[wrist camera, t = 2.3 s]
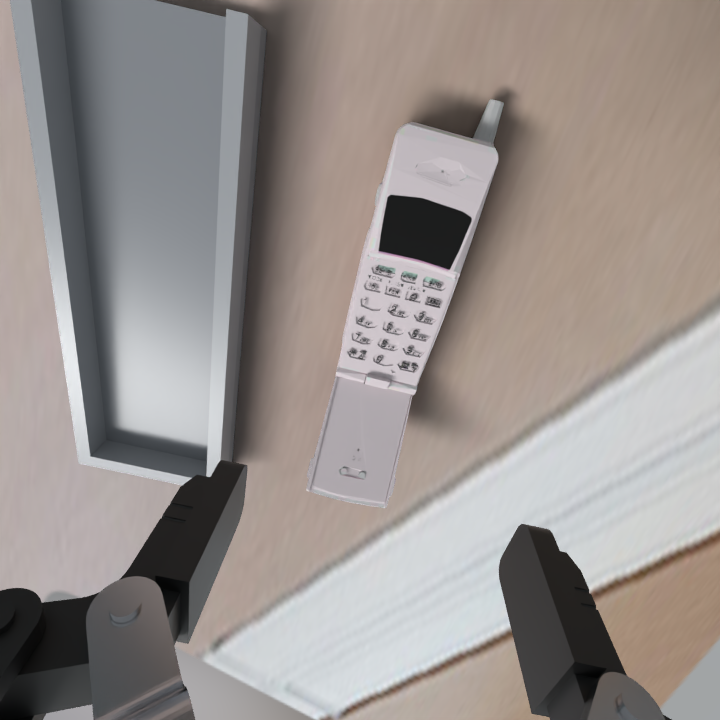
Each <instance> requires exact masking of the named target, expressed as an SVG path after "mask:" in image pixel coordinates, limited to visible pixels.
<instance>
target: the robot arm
mask: <svg viewBox="0 0 720 720" xmlns="http://www.w3.org/2000/svg"><path fill="white" fill-rule="evenodd" d="M246 478H247V465H244V464H239V463H234V462H230V461H225V460H220V461H219V463H218V464H217V466H216V468H215V470H214V472H213V473H212V475H211V477H206V476H202V475H196V476H194V477H193V478H192V479H190V480H189V481H188V482H186V483H185V484H184V485H182V486H181V487H180V489H179V490H178V492H177V493H176V495H175V497H174V498H173V500H172V501H171V504H170V506H168V508H167V509H166V511H165V512H164V514H163V516H162V519H160V520H159V522H158V523H157V525H156V527H155V528H154V530H153V531H152V533H151V534H150V536H149V538H148V539H147V541H146V542H145V544H144V546H143V547H142V549H141V550H140V552H139V553H138V555H137V557H136V558H135V560H134V561H133V563H132V564H131V566H130V568H129V569H128V570H127V572H126V573H125V574H124V575H123V576H122V578H121V579H119V580H118V581H115V582H114V583H112V584H110V585H108V586H107V587H106V588H104V589H103V590H102V591H101V592H99V593H97V594H94V595H91V596H88V597H83V598H77V599H69V600H61V601H53V602H44V603H41V600H40V598H39V596H38V595H37V594H36V593H34V592H33V591H31V590H28V589H24V588H12V589H6V590H2V591H0V720H43V718H44V716H45V715H46V713H50V712H55V711H60V710H65V709H70V708H75V707H80V706H85V705H91V704H92V706H93V717H94V720H195V717H194V712H193V709H192V704H191V700H190V697H189V694H188V691H187V688H186V687H185V686H184V684H183V681H182V678H181V674H180V669H179V665H178V661H177V656H176V652H175V647H174V645H175V643H176V641H177V642H183V643H189V641H190V638H191V636H192V634H193V631H194V629H195V626H196V624H197V622H198V619H199V617H200V614H201V612H202V610H203V607H204V605H205V603H206V600H207V598H208V595H209V593H210V591H211V588H212V586H213V583H214V581H215V579H216V576H217V574H218V571H219V569H220V567H221V564H222V562H223V559H224V557H225V555H226V552H227V550H228V547H229V545H230V543H231V540H232V538H233V535H234V533H235V531H236V528H237V526H238V523H239V520H240V517H241V514H242V510H243V505H244V498H245V488H246ZM499 579H500V583H501V587H502V592H503V596H504V600H505V604H506V608H507V612H508V617H509V621H510V625H511V629H512V633H513V637H514V642H515V646H516V650H517V654H518V658H519V662H520V667H521V671H522V675H523V679H524V683H525V687H526V691H527V696H528V700H529V704H530V708H531V712H532V714H536V715H541V716H547V717H550V720H671V719H669V718H668V717H666V716H664V715H663V714H662V712H661V710H660V708H659V706H658V705H657V703H656V702H655V701H654V699H653V698H652V697H651V696H650V694H649V693H648V692H647V691H646V690H645V689H644V688H643V687H642V686H641V685H639V684H638V683H637V682H636V681H634V680H633V679H631V678H629V677H628V676H627V675H626V673H625V671H624V669H623V666H622V664H621V662H620V659H619V657H618V655H617V653H616V650H615V648H614V646H613V643H612V641H611V639H610V637H609V634H608V632H607V630H606V627H605V625H604V623H603V621H602V618H601V616H600V614H599V611H598V610H596V605H595V602H594V600H593V598H592V595H591V594H589V588H588V586H587V584H586V582H585V579H584V577H583V575H582V572H581V570H580V569H579V568H578V567H577V565H576V564H575V563H574V562H573V560H572V559H571V558H570V557H569V555H568V554H567V553H565V552H561V551H559V548H558V546H557V543H556V541H555V538H554V536H553V534H552V532H551V531H550V530H548V529H544V528H539V527H535V526H530V525H525V524H521V525H520V526H519V527H518V528H517V530H516V532H515V534H514V535H513V537H512V539H511V541H510V543H509V544H508V546H507V548H506V550H505V552H504V553H503V555H502V557H501V560H500V565H499Z"/></svg>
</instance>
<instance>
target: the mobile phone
mask: <svg viewBox="0 0 720 720" xmlns="http://www.w3.org/2000/svg"><path fill="white" fill-rule="evenodd" d="M503 105H504V103H503V102H500V101H497V100H492V99H491V100H489V102H488V104H487V107H486V109H485V111H484V114H483V116H482V118H481V120H480V123H479V125H478V127H477V130H476V132H475V134H474V137H473V138H469V137H466V136H462V135H458V134H455V133H451V132H448V131H444V130H441V129H437V128H434V127H430V126H426V125H423V124H419V123H416V122H409V123H406V124H404V125H402V126H401V127H400V128H399V129H398V130H397V133H396V135H395V138H394V142H393V146H392V150H391V153H390V157H389V161H388V164H387V168H386V172H385V175H384V178H383V181H382V183H381V184H380V185H379V187H378V190H377V194H376V199H375V205H376V208H375V212H374V216H373V219H372V223H371V227H370V228H369V231H368V233H367V237H366V240H365V244H364V247H363V251H362V256H361V260H360V264H359V268H358V273H357V277H356V281H355V285H354V290H353V294H352V298H351V302H350V307H349V311H348V315H347V320H346V324H345V329H344V333H343V338H342V348H341V353H340V357H339V362H338V367H337V371H336V377H335V381H334V385H333V388H332V392H331V396H330V399H329V403H328V407H327V410H326V414H325V418H324V421H323V425H322V429H321V433H320V436H319V440H318V444H317V448H316V451H315V455H314V459H313V458H312V459H311V461H310V465H309V469H308V473H307V477H308V478H309V480H308V484H307V488H306V490H307V491H310V492H313V493H316V494H319V495H323V496H326V497H330V498H333V499H337V500H341V501H346V502H351V503H355V504H362V505H368V506H374V507H381V508H386V507H387V504H388V500H389V496H391V495H392V492H393V488H394V484H395V480H396V479H395V473H396V468H397V464H398V459H399V455H400V450H401V445H402V441H403V436H404V432H405V427H406V423H407V418H408V414H409V409H410V405H411V400H412V396H411V394H412V395H415V393H416V391H417V384H418V382H419V379H420V377H421V374H422V372H423V369H424V367H425V364H426V362H427V360H428V357H429V355H430V352H431V350H432V347H433V345H434V342H435V340H436V337H437V335H438V332H439V330H440V327H441V325H442V322H443V320H444V317H445V314H446V311H447V309H448V306H449V303H450V301H451V298H452V295H453V292H454V290H455V287H456V284H457V281H458V278H459V276H460V273H461V270H462V267H463V264H464V262H465V259H466V256H467V253H468V250H469V247H470V244H471V242H472V239H473V236H474V233H475V230H476V227H477V224H478V221H479V218H480V215H481V212H482V209H483V206H484V203H485V199H486V196H487V194H488V191H489V187H490V184H491V181H492V178H493V175H494V172H495V169H496V166H497V163H498V153H497V151H496V148H495V147H494V144H493V142H494V139H495V136H496V132H497V128H498V124H499V120H500V116H501V113H502V109H503ZM410 397H411V400H410ZM409 401H410V404H409ZM408 405H409V408H408ZM407 410H408V412H407ZM312 462H313V463H312ZM311 466H312V467H311ZM310 470H311V471H310ZM309 474H310V475H309Z"/></svg>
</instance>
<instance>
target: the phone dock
mask: <svg viewBox="0 0 720 720" xmlns="http://www.w3.org/2000/svg"><path fill="white" fill-rule="evenodd" d="M10 4H11V11H12V17H13V24H14V31H15V38H16V44H17V51H18V58H19V65H20V71H21V78H22V85H23V91H24V98H25V105H26V112H27V118H28V125H29V132H30V139H31V145H32V152H33V159H34V166H35V172H36V179H37V186H38V192H39V199H40V206H41V213H42V219H43V226H44V233H45V240H46V246H47V253H48V260H49V266H50V273H51V280H52V287H53V293H54V300H55V307H56V314H57V320H58V327H59V334H60V340H61V347H62V354H63V361H64V367H65V374H66V381H67V388H68V394H69V401H70V408H71V414H72V421H73V428H74V435H75V441H76V448H77V455H78V462H79V464H84V465H88V466H93V467H98V468H102V469H107V470H112V471H117V472H121V473H126V474H131V475H136V476H140V477H145V478H150V479H154V480H159V481H164V482H169V483H173V484H178V485H184V484H185V483H186V482H188V481H189V480H190V479H192V478H193V477H194V476H196V475H202V476H206V477H211V475H212V473H213V472H214V470H215V468H216V466H217V464H218V463H219V461H220V460H225V461H230V462H232V459H233V446H234V434H235V421H236V409H237V397H238V384H239V372H240V359H241V347H242V334H243V322H244V309H245V297H246V284H247V272H248V259H249V247H250V234H251V222H252V210H253V197H254V185H255V172H256V160H257V147H258V135H259V122H260V110H261V97H262V85H263V72H264V60H265V47H266V35H267V30H265V29H264V28H263V27H262V26H261V25H260V24H259V23H258V22H256V21H255V20H254V19H253V18H252V17H251V16H250V15H249V14H245V13H241V12H237V11H233V10H229V9H226V17H223V16H219V15H215V14H210V13H206V12H202V11H198V10H194V9H190V8H185V7H181V6H177V5H173V4H169V3H165V2H160V1H156V0H10Z"/></svg>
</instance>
